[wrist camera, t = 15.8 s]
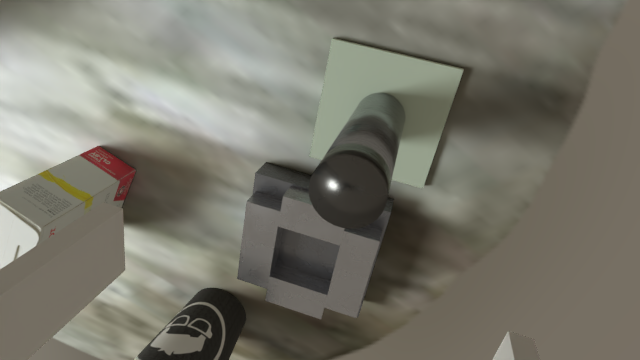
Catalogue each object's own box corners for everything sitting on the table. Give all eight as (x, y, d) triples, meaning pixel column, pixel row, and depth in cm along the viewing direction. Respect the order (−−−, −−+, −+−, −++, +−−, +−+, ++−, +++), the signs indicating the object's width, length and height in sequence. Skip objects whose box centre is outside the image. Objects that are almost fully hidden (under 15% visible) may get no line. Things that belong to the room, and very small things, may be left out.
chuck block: (251, 264, 44) (233, 292, 40) (265, 162, 38) (246, 182, 34) (362, 300, 42) (354, 332, 38) (393, 199, 37) (388, 224, 33)
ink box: (97, 142, 42) (-13, 193, 32) (138, 170, 42) (41, 230, 32) (77, 200, 46) (-27, 263, 36) (114, 226, 46) (22, 295, 36)
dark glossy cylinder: (350, 134, 34) (302, 216, 22) (361, 86, 33) (316, 147, 20) (397, 146, 34) (375, 237, 22) (411, 99, 32) (396, 169, 20)
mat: (311, 154, 37) (309, 156, 36) (333, 37, 32) (332, 38, 32) (422, 185, 35) (422, 188, 35) (463, 68, 31) (463, 69, 30)
